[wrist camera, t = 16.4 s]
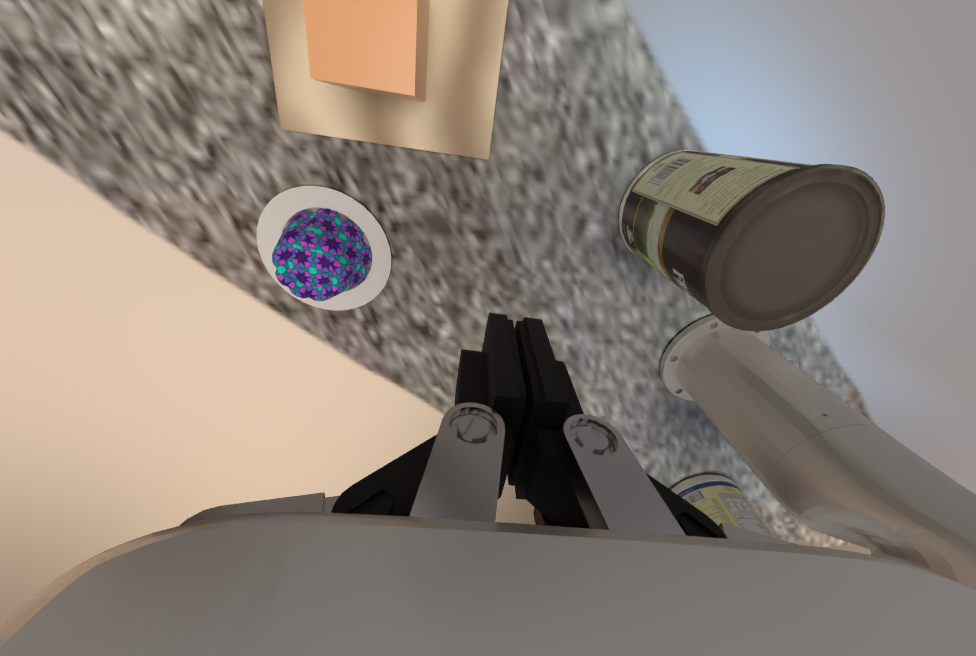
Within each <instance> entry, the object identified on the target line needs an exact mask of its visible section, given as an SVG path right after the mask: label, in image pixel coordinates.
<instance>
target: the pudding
mask: <svg viewBox="0 0 976 656" xmlns="http://www.w3.org/2000/svg"><path fill="white" fill-rule="evenodd" d="M312 207H322V208H321V209H319V210H318V211H317V212H315V213H311V212H309V211H306V210H304V211H301V210H303V209H307V208H312ZM323 208H328V209H323ZM331 209H332V210H331ZM333 210H335V211H338V212H340V213H342V214H344V215H346V216H347V217H348V218H350V219H351V220H353V221H354V222H355V223H356V224H357V225H356V224H355V223H354V222H353V221H347V220H343V219H342V218H341V217H340V216H339V214H338V213H337V212H335V211H333ZM299 211H300V212H299ZM295 213H296V214H295ZM294 214H295V215H294ZM293 215H294V216H293ZM291 216H293V217H292V219H291V221H290V223H289V225H288V227H287V228H285V229H284V231H283V233H282V230H283V227H284V225H285V224H286V222H287V221H288V220H289V218H290V217H291ZM360 228H361V229H360ZM361 230H362V231H363V232H364V234H365V235H366V237H367V239H368V241H369V243H370V246H371V249H370V247H369V246H368V245H366V244H365V243H364V242H363V232H362V231H361ZM281 234H282V235H281ZM257 244H258V250H259V253H260V256H261V258H262V261H263V263H264V265H265V267H266V269H267V270H268V272H269V273H270V275H271V276H272V277H273V279H274V280H275V281H276V282H277V283H278V284H279V285H280V286H281V287H282V288H283V289H284V290H285V291H287V292H288V293H289V294H291V295H292V296H293V297H295V298H297V299H299V300H300V301H302V302H304V303H307V304H309V305H311V306H314V307H318V308H322V309H327V310H348V309H354V308H357V307H360V306H362V305H365V304H366V303H368V302H370V301H371V300H373V299H374V298H375V297H376V296H377V295H378V294H379V293H380V292H381V291H382V289H383V288H384V286H385V285H386V282H387V280H388V278H389V274H390V270H391V253H390V247H389V244H388V241H387V238H386V235H385V233H384V231H383V230H382V228H381V226H380V224H379V223H378V222H377V220H376V219H375V218H374V216H373V215H372V214H371V213H370V212H369V211H368V210H367V209H366V208H365V207H364V206H362V205H361V204H360V203H358V202H357V201H356V200H354V199H353V198H351V197H349V196H347V195H345V194H343V193H341V192H339V191H336V190H333V189H330V188H326V187H319V186H300V187H296V188H291V189H288V190H286V191H284V192H282V193H280V194H278V195H277V196H276V197H274V198H273V199H272V200H271V201H270V202H269V203H268V204H267V205H266V207H265V208H264V210H263V212H262V214H261V216H260V218H259V222H258V226H257ZM371 250H372V253H371ZM371 260H372V267H371V270H370V273H369V275H368V276H367V270H366V266H367V265H368V264H369V263H370V262H371ZM366 276H367V278H366ZM365 278H366V279H365ZM364 280H365V281H364ZM362 281H364V282H363V283H361V282H362ZM360 283H361V284H360ZM358 284H360V285H359V286H357V287H356V288H354V289H351V290H349V291H346V290H348V289H350V288H352V287H354V286H356V285H358ZM344 291H345V292H344Z"/></svg>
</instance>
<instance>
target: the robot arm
mask: <svg viewBox="0 0 976 656" xmlns="http://www.w3.org/2000/svg"><path fill="white" fill-rule="evenodd" d="M770 347H771V338H770V334H769V331H743V330H739V329H735V328H733V327H730V326H728V325H726V324H724V323H723V322H722V321H720V320H719V319H718V318H717V317H716V316H714V315H711V316H708V317H705V318H703V319H700V320H699V321H697V322H695V323H693V324H691V325H690V326H688V327H687V328H686V329H684V330H683V331H682V332H681V333H680V334H678V335H677V336H676V337H675V338H674V339H673V341H672V342H671V343H670V345H669V346H668V347H667V349H666V351H665V353H664V355H663V357H662V360H661V363H660V375H661V379H662V381H663V383H664V385H665V386H666V388H667V389H668V390H669V391H670V392H671V393H672V394H673V395H674V396H676V397H678V398H680V399H684V400H688V401H695V402H696V404H697V405H698V406H699V407H700V408H701V410H702V411H703V412H704V413H705V414H706V416H707V417H708V418H709V419H710V420H711V422H712V423H713V424H714V425H715V426H716V428H717V429H718V430H719V431H720V432H721V434H722V435H723V436H724V437H725V438H726V440H727V441H728V442H729V443H730V444H731V446H732V447H733V448H734V449H735V450H736V452H737V453H738V454H739V455H740V456H741V458H742V459H743V460H744V461H745V462H746V464H747V465H748V466H749V467H750V468H751V470H752V471H753V472H754V473H755V474H756V476H757V477H758V478H759V479H760V480H761V482H762V483H763V484H764V485H765V486H766V488H767V489H768V490H769V491H770V492H771V493H772V495H773V496H774V497H775V498H776V499H777V501H778V502H779V503H780V504H781V505H782V506H783V507H784V508H785V509H786V510H787V511H788V512H789V513H790V514H791V515H792V516H794V517H795V518H796V519H798V520H799V521H801V522H802V523H804V524H805V525H807V526H809V527H811V528H813V529H815V530H817V531H819V532H822V533H824V534H827V535H829V536H832V537H835V538H838V539H841V540H843V541H847V542H850V543H853V544H856V545H859V546H862V547H865V548H867V549H869V550H871V552H872V554H873V555H867V554H862V553H856V552H850V551H843V550H836V549H829V548H822V547H813V546H802V545H798V544H794V543H791V542H787V541H784V540H780V539H777V538H774V537H770V536H767V535H763V534H760V533H756V532H753V531H749V530H746V529H743V528H739V527H736V526H732V525H729V524H725V523H722V522H721V523H720V524H719V526H718V525H717V524H716V523H715V522H714V521H713V520H712V519H711V518H709V517H708V516H707V515H706V514H705V513H703V512H702V511H700V510H699V509H698V508H696V507H695V506H693V505H692V504H690V503H689V502H687V501H686V500H684V499H683V498H681V497H680V496H679V495H677V494H676V493H674V492H673V491H671V490H670V489H668V488H667V487H665V486H664V485H663V484H661V483H660V482H658V481H657V480H655V479H654V478H652V477H651V476H649V475H648V474H647V473H645V471H644V470H643V468H642V467H641V465H640V464H639V462H638V461H637V459H636V458H635V456H634V455H633V453H632V451H631V450H630V448H629V447H628V445H627V444H626V442H625V441H624V439H623V438H622V436H621V435H620V434H619V432H618V431H617V430H616V429H615V428H614V427H613V426H612V425H610V424H609V423H608V422H606V421H604V420H602V419H600V418H598V417H595V416H592V415H586V414H583V411H582V408H581V406H580V403H579V400H578V398H577V395H576V392H575V390H574V387H573V384H572V382H571V379H570V376H569V374H568V371H567V368H566V366H565V364H564V362H562V361H556V360H555V357H554V354H553V351H552V348H551V345H550V342H549V339H548V336H547V334H546V331H545V328H544V325H543V322H542V320H541V319H533V318H525V317H524V318H523V321H517V322H516V326H515V330H514V325H513V320H507V315H502V314H495V313H489V316H488V321H487V326H486V332H485V338H484V343H483V349H482V352H479V351H470V350H461V356H460V362H459V369H458V377H457V385H456V394H455V406H453V407H452V408H450V409H449V410H448V411H447V412H446V413H445V415H444V417H443V419H442V422H441V425H440V428H439V431H438V434H437V435H436V436H434V437H432V438H430V439H429V440H427V441H425V442H424V443H422V444H420V445H419V446H417V447H415V448H413V449H412V450H410V451H409V452H407V453H406V454H404V455H402V456H400V457H399V458H397V459H395V460H393V461H392V462H390V463H388V464H387V465H385V466H384V467H382V468H380V469H378V470H377V471H375V472H373V473H372V474H370V475H368V476H367V477H365V478H363V479H362V480H360V481H359V482H357V483H355V484H353V485H352V486H351V487H349V488H348V489H347V490H346V491H344V492H343V493H342V494H341V495H340V496H335V497H327V498H325V493H316V494H308V495H301V496H294V497H285V498H277V499H270V500H262V501H255V502H246V503H239V504H231V505H224V506H218V507H214V508H210V509H207V510H203V511H201V512H199V513H198V514H196V515H194V516H192V517H190V518H188V519H187V520H185V521H184V522H183V523H182V524H181V525H180V526H177V527H174V528H170V529H166V530H162V531H158V532H155V533H151V534H149V535H146V536H143V537H140V538H137V539H134V540H131V541H129V542H126V543H123V544H121V545H119V546H116V547H114V548H111V549H109V550H106V551H104V552H102V553H100V554H98V555H96V556H95V557H92V558H90V559H88V560H86V561H84V562H82V563H81V564H79V565H77V566H76V567H74V568H73V569H71V570H69V571H68V572H66V573H65V574H64V575H62V576H60V577H59V578H57V579H56V580H54V581H53V582H51V583H50V584H49V585H47V586H46V587H45V588H43V589H42V590H41V591H39V592H38V593H37V594H36V595H34V596H33V597H32V598H30V599H29V600H28V601H27V602H25V603H24V604H23V605H22V606H21V607H19V608H18V609H17V610H16V611H15V612H13V613H12V614H11V615H10V616H9V617H8V618H6V619H5V620H4V621H3V622H1V624H0V656H976V494H974V493H972V492H971V491H969V490H968V489H966V488H965V487H963V486H962V485H960V484H959V483H957V482H956V481H954V480H953V479H952V478H950V477H949V476H947V475H946V474H944V473H943V472H941V471H940V470H939V469H937V468H936V467H934V466H933V465H931V464H930V463H928V462H927V461H926V460H924V459H922V458H921V457H920V456H918V455H917V454H915V453H914V452H913V451H911V450H910V449H908V448H907V447H906V446H904V445H903V444H901V443H900V442H899V441H897V440H896V439H895V438H893V437H892V436H891V435H889V434H888V433H886V432H885V431H884V430H882V429H881V428H880V427H878V426H877V425H875V424H874V423H873V422H871V421H870V420H869V419H867V418H866V417H865V416H863V415H862V414H860V413H859V412H858V411H856V410H855V409H854V408H852V407H851V406H849V405H848V404H847V403H845V402H844V401H843V400H841V399H840V398H839V397H837V396H836V395H834V394H833V393H832V392H830V391H829V390H828V389H826V388H825V387H824V386H822V385H821V384H819V383H818V382H817V381H815V380H814V379H813V378H811V377H810V376H808V375H807V374H806V373H804V372H803V371H802V370H800V369H799V368H800V367H799V364H798V363H797V362H795V361H788V360H787V359H785V358H784V357H783V356H781V355H780V354H778V353H777V352H776V351H774V350H773V349H772V348H770ZM507 474H508V483H509V485H514V486H515V492H516V499H526V500H527V501H529V502H530V503H531V504H532V505H533V506H534V512H533V513H534V521H535V524H536V525H530V524H514V523H499V522H495V519H496V510H497V501H498V499H499V498H500V497H501V495H502V491H503V487H504V483H505V480H506V476H507Z"/></svg>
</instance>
